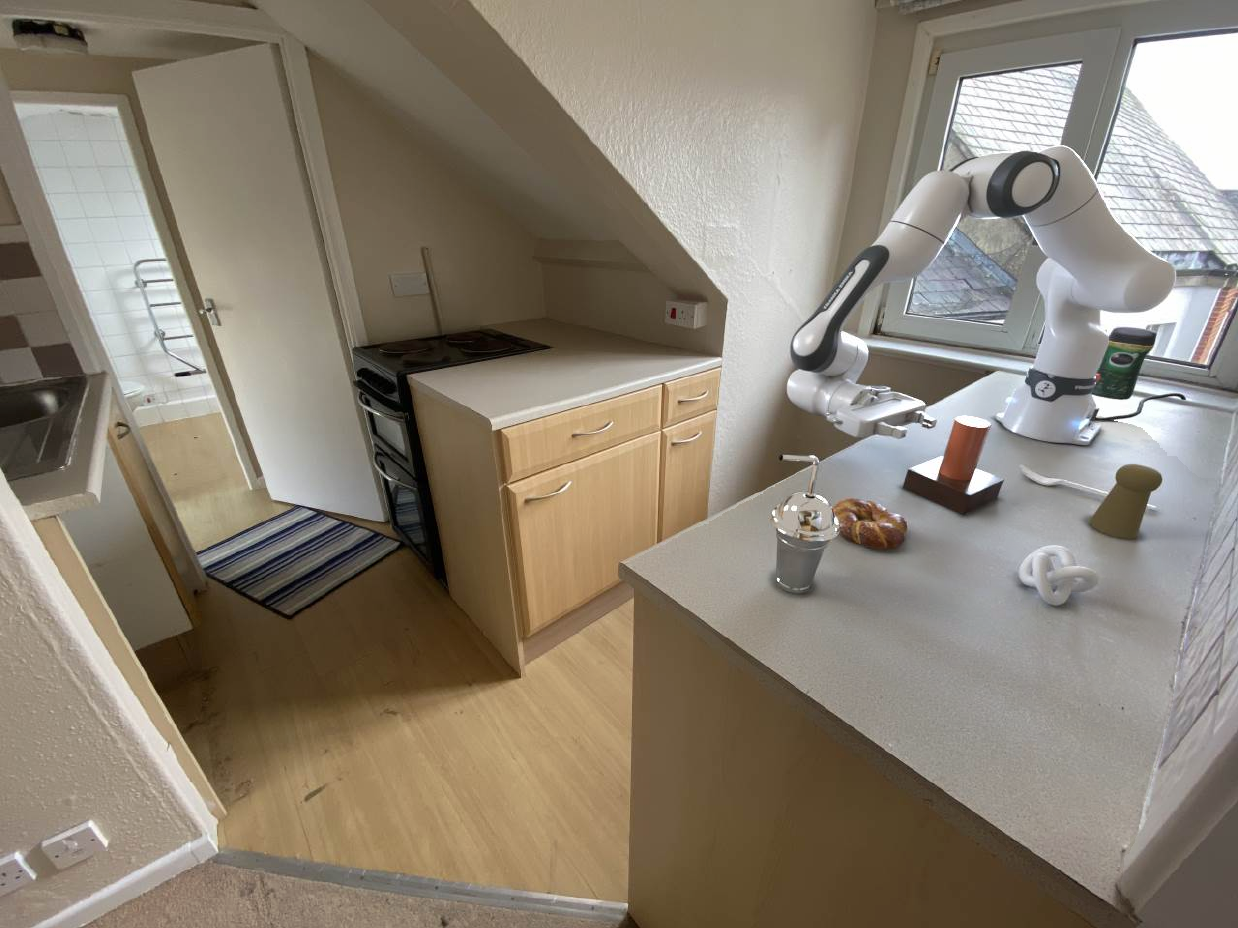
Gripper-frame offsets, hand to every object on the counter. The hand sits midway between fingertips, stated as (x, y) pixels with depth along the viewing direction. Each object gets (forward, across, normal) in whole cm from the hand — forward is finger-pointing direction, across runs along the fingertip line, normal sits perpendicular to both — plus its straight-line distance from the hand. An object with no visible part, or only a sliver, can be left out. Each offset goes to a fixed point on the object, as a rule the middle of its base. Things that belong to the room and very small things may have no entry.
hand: (919, 429), depth 97 cm
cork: (+28, +12, +10) cm, 32 cm away
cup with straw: (+11, -44, +10) cm, 47 cm away
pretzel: (+8, -24, +10) cm, 27 cm away
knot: (+30, -16, +10) cm, 36 cm away
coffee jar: (-1, +94, +10) cm, 94 cm away
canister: (+8, 0, +6) cm, 10 cm away
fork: (+20, +22, +10) cm, 31 cm away
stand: (+8, 0, +10) cm, 13 cm away
